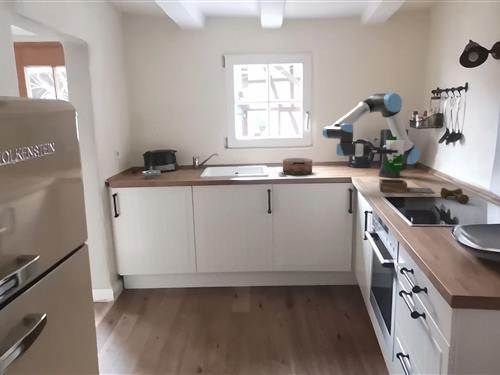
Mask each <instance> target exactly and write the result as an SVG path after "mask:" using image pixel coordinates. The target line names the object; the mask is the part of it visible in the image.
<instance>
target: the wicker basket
mask: <svg viewBox="0 0 500 375" xmlns="http://www.w3.org/2000/svg"><path fill="white" fill-rule="evenodd" d="M283 172H284V173H286V174H285V175H286V176H287V175H288V176H308V175H307V174H309V175H312V174H313V158H309V157H286V158H283V159H282V173H283ZM284 173H283V174H284ZM311 173H312V174H311Z"/></svg>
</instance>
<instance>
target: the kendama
mask: <svg viewBox="0 0 500 375" xmlns="http://www.w3.org/2000/svg"><path fill="white" fill-rule="evenodd" d="M448 197H454V198H455V200H456V202H458V203H459V204H460V205H466V204H468V203H469V201H470V197H469V195H467V194H464V192H463V189H461V188H456V189H453V190H452V189H447V188H446V187H442V188H441V190H440V198H441V199H443V198H445V199H447V198H448Z"/></svg>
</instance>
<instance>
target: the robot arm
mask: <svg viewBox="0 0 500 375" xmlns="http://www.w3.org/2000/svg"><path fill="white" fill-rule="evenodd" d="M402 107H403V100H402V98H401V96H400V95H399V94H398V93H396V92H387V93H385V92H384V93H374V94H371V95H369V96H367V97H366V98H364V99H362V100H361V101H360V102H359V103H358V105H357V106H356V107H354V108H353V109H352V110H350V111H349V112H348V113H346V114H345V115H344V116H342V117H341V118H340V119H338V120H337V121H336V122H334V123H333V124H331V125H328V126H325V127H323V129H322V136H323V137H324V138H326V139H332V140H333V139H335V140H336V139H337V140H339V143H337V144H336V155H337V156H339V157H357V158H359V157H370V153H371V154H374V155H376V154H378V155H380V154H381V165H380V169H379V172H378V177H381V178H390V177H392V178H393V177H395V178H401V177H400V176H401V174H402V173H401V172H402V171H399V172H390V171H386V170H385V164H386V154H390V155H392V154H403V157H402V164H407V165H414V164H416V163H417V162H418V161H419V159H420V156H421V150H420V148H419V147H417V146H415V144H414V143H413V142H412V141H411V140H410V138H409V135H408V133H407V130H406V127H405V125H404V121H403V119H402V116H401V114H400V112H401V111H402V110H401V109H402ZM371 113H381V116H382V118H385V119H386V122H387V124H388V126H389V127H388V128H389V129H390V132H391V136H393V137H397V140H402V141H405V143H404V146H403V149H386V144H384V145H383V146H381V147H380V146H372V147H371V144H370V143H354V132H355V130H354V124H355V123H356V122H358V121H359V120H360V119H361V118H363V117H365V116H369V114H371ZM392 178H391V179H392Z"/></svg>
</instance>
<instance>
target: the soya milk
mask: <svg viewBox="0 0 500 375" xmlns="http://www.w3.org/2000/svg"><path fill="white" fill-rule="evenodd" d="M404 143H405V141H402V140H397V137H393V135H391V136H389V139H386V140H385V145H386V149H403V146H404ZM402 157H403V154H392V155H390V154H386V164H385V170H386V171H390V172H399V171H400V172H403V163H402Z"/></svg>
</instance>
